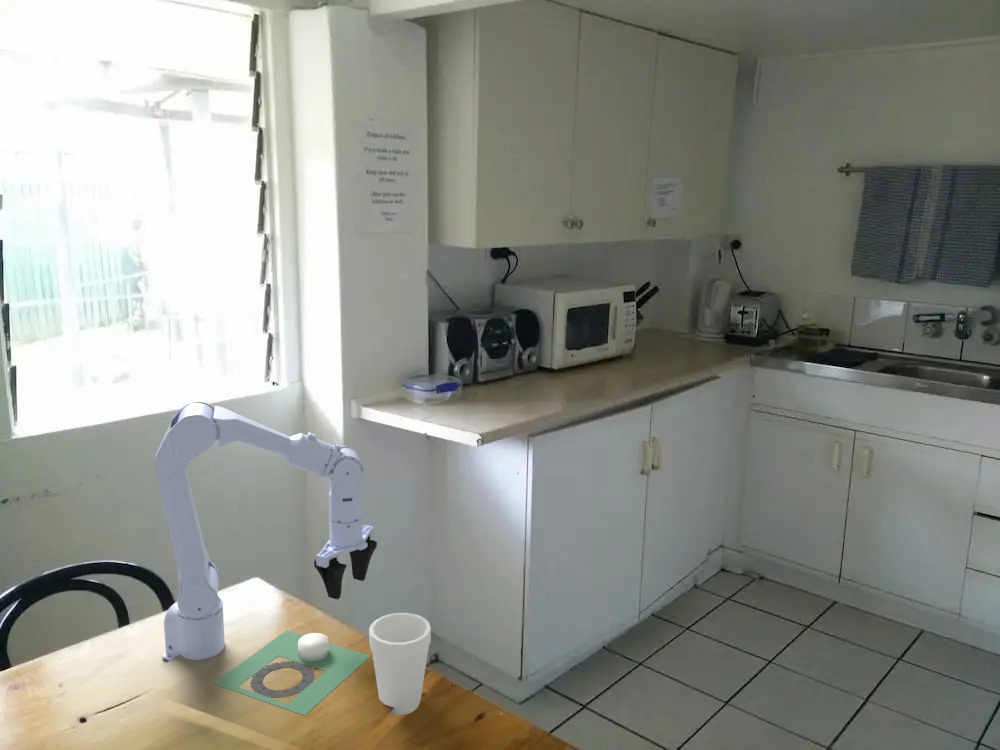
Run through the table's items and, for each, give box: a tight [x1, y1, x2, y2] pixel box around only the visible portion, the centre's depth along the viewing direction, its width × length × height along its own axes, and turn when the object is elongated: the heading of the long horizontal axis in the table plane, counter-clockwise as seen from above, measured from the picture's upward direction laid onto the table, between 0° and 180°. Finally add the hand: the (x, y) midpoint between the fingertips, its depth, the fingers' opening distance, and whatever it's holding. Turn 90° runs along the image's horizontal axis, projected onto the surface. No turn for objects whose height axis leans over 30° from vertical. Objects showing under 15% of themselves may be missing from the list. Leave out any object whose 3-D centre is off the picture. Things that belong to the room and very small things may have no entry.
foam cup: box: [368, 612, 432, 716], centre depth 125 cm, size 10×9×13 cm
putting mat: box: [212, 629, 372, 717], centre depth 132 cm, size 18×18×2 cm
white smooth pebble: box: [298, 632, 329, 662], centre depth 136 cm, size 5×5×2 cm
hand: (346, 588), depth 143 cm, fingers open, 7 cm apart
